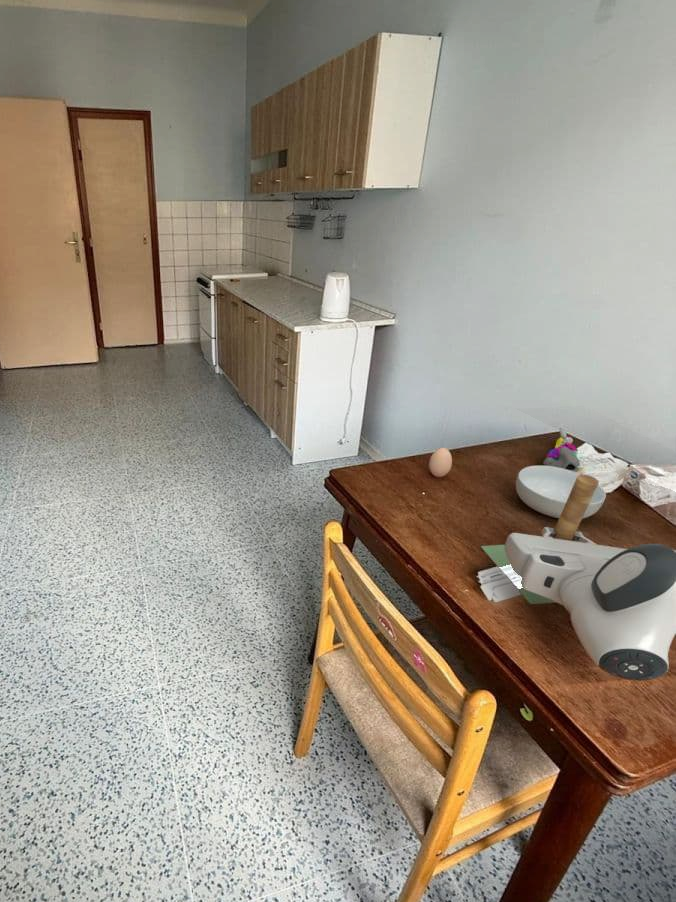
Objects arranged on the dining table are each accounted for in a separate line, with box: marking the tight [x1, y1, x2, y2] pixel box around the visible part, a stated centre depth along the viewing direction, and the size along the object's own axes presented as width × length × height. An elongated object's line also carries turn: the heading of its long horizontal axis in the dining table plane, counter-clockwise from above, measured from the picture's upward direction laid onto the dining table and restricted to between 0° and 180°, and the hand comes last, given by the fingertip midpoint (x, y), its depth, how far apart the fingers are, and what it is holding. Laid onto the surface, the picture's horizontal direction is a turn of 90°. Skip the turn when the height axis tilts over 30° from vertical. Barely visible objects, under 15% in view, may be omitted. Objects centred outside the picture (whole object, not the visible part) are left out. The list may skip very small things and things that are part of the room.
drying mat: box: [480, 544, 556, 605], centre depth 91 cm, size 18×16×1 cm
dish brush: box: [554, 474, 599, 541], centre depth 84 cm, size 6×6×20 cm
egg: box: [428, 447, 453, 478], centre depth 121 cm, size 5×5×8 cm
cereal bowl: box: [515, 465, 607, 520], centre depth 108 cm, size 17×17×7 cm
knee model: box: [542, 427, 587, 475], centre depth 127 cm, size 9×8×25 cm
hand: (560, 532), depth 86 cm, fingers closed on dish brush, 3 cm apart
